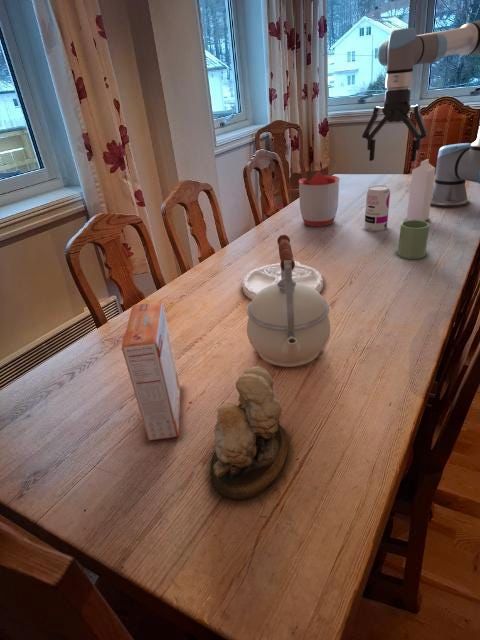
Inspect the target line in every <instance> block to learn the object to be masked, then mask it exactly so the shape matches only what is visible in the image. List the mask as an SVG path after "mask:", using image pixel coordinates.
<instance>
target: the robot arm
mask: <svg viewBox="0 0 480 640" xmlns="http://www.w3.org/2000/svg"><path fill="white" fill-rule="evenodd" d="M451 55H452V56H453V55H459V56H469V55H477V56H478V55H480V19H479V20H476V21H472V22H467V23H465V24H463V25H461V26H460V27H457V28H453V29H452V28H451V29H447V30H441V31H436V32H429V33H424V34H417V28H416V27H408V28H407V27H406V28H399V29H393V30H392V31H391V32H390V34H389V38H388V40H385V41H384V42H383V43H381V44H380V46H379V48H378V51H377V60H378V62H379V64H380V65H381V66H383V67H386V76H385V89H386V90H385V92H384V103H383V107H380V106H378V105H377V106H374V108H373V111H372V115H371V118H370V119H369V122H368V124H367V126H366V128H365V129H364V131H363V133H362V135H361V138H363V139H366V140H367V146H366V147H367V148H366V149H367V151H369V162H372V161H374V160H375V150H376V138H375V137H376V135H377V134H378V133H379V132H380V131H381V129H382V128H383V127H384V126H385V124H386V123H388V122H389V123H392V122H396V123H400V122H403V123H404V124H405V126H406V128H408V130H409V131H410V133H411V135H412V136H413V137H414V139H413V140H412V146H411V157H410V162H411V163H413V162H415V161H416V159H417V151H419V150H420V149H421V145H422V144H421V143H422V139H424V138H426V137H428V135H429V132H428V130H427V128H426V125H425V122H424V119H423V117H422V114H421V105H420V104H416V105H411V104H410V103H411V94H412V93H411V92H412V90H411V88H410V87H412V84H413V71H414V66H415V65H424V64H433V63H437V62H440V61H441V60H442V59H443V58H444V57H447V56H451ZM410 111H411V113H412V114H413V115H414V119H415V121H416V124H417V126H418V128H419V130H418V128H417V127H416V126H415V124H414V123H413V121H412V120H411V118H410V116H409V115H408V114H409V113H410ZM381 114H383V115H384V117H383V118H382V119H381V120H380V122H379V123H378V124H377V125H376V126H375V128H374V129H373V127H374V125H375V123H376V121H377V119H378V117H379V116H380V115H381ZM370 132H371V133H370ZM436 157H437V159H436V167H435V176H434V183H433V190H432V197H431V204H430V206H434V207H438V208H457V207H463V206H466V205H467V203H468V195H467V188H466V182H467V181H468V182H474V183H477V184H478V185H479V184H480V127H479V129H478V132H477V137H476V140H475V141H473V142H472V143H470V142H463V143H454V144H448V145H447V144H446V145H443V146H441V147H440V148H439V150H438V154H437V156H436Z"/></svg>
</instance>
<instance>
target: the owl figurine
mask: <svg viewBox="0 0 480 640" xmlns="http://www.w3.org/2000/svg"><path fill="white" fill-rule="evenodd" d="M235 389H236V391H237V393H238V394H239V396H238V404H235V403H230V402H227V403H224V404H221V405H220V406H219V408H217V414H216V423H215V425H214V429H213V434H214V436H215V437H214V445H215V447H214V452H213V455H212V457H211V463H210V470H209V471H210V473H209V474H210V481H211V482H212V484H213V486H214V487H213V488H214V489H215V491H216V492H217V493H218V494H219V495H221V496H223V497H225V498H226V499H230V500H232V501H248V500H252V499H255V498H256V497H258V496H260V495H261V494H263V493H264V492H266V491H267V490H268V489H269V488H270V487H271V486H272V485H273V484H274V483H275V481H277V480H278V478H279V476H281V473H282V471H283V470H284V467H285V464H286V462H287V459H288V454H289V445H290V444H289V438H288V435H287V432H286V430H285V428H284V427H283V426H282V425H281V417H282V406H281V405H282V404H281V401H280V399H279V396H278V392H277V390H276V389H275V388H274V380H273V378H272V376H271V374H270V373H269V372H268V371H267V370H266V369H265V368H264V367H262V366H259V365H258V366H257V365H253V366H250V367H248V368H246V369H245V370H244V372H243V374H241V375H240V376H238V379H237V380H236V382H235Z"/></svg>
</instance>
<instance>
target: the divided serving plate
mask: <svg viewBox="0 0 480 640" xmlns="http://www.w3.org/2000/svg"><path fill="white" fill-rule="evenodd" d="M294 262H295V267H294V269H293V270H292V280H294V282H296V283H301V284H305V285H308V286H310V287H312V288H314V289H315V290H316V291H318V292H319V294H320V293H321V292H322V290H323V287H324V280H323V274H322V273H320V272H319V270H318V269H315V268H314V267H313V266H309V265H307V264H301V262H299V261H297V260H294ZM280 264H281V262H280V263H279V262H277V263H273V264H272V263H271V264H266V265H263V266H259V267H257V268H255V269H252V270H251V271H250V272H247V273H246V275H245V276H244V277H243V278H242V279H243V281H242V291H243V294H244V295H245V296H246V297H247V298H249V299H250V300H251V301H252V300H253V299H254V297H255V296H256V294H257V293H258V292H260V291H261V290H262V289H264V288H266V287H268V286H270V285H273V284H277V283H278V282H279V281H280V280H281V266H280Z"/></svg>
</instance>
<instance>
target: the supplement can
mask: <svg viewBox="0 0 480 640" xmlns="http://www.w3.org/2000/svg"><path fill="white" fill-rule="evenodd" d="M365 193H366V194H365V209H364V211H365V212H364V224H363V226H364V228H365V229H366V230H367V231H370V232H381V231H384V230H385V229H387V228H388V221H389V211H390V198H391V190H390V188H389V186H387V185H371V186H369V187H368V189H367V190H366V192H365Z"/></svg>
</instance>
